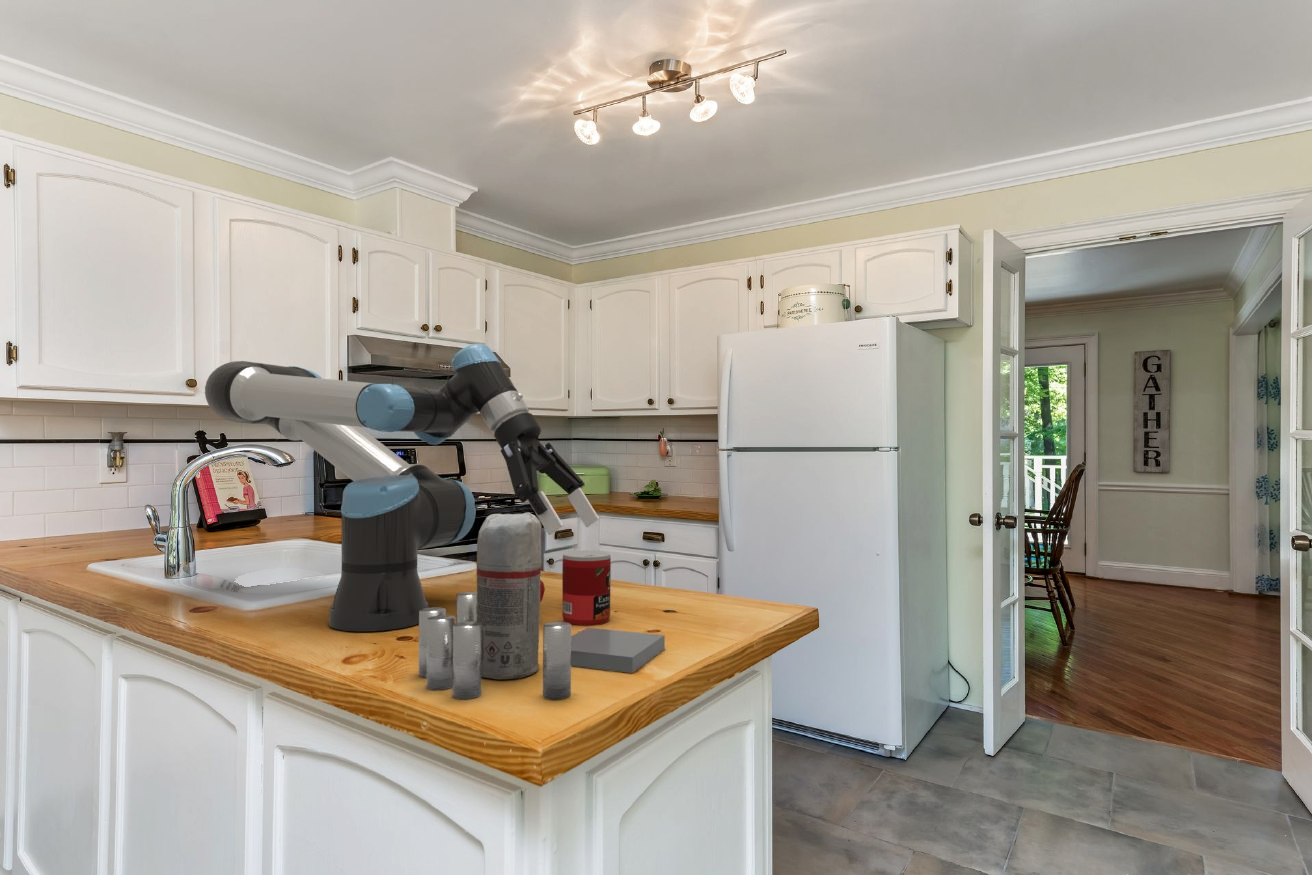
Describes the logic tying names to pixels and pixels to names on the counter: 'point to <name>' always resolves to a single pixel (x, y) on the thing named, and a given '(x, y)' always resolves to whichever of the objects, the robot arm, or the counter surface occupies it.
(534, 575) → the spray can
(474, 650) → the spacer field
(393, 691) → the counter surface
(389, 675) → the counter surface
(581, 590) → the canned food
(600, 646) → the slate board
